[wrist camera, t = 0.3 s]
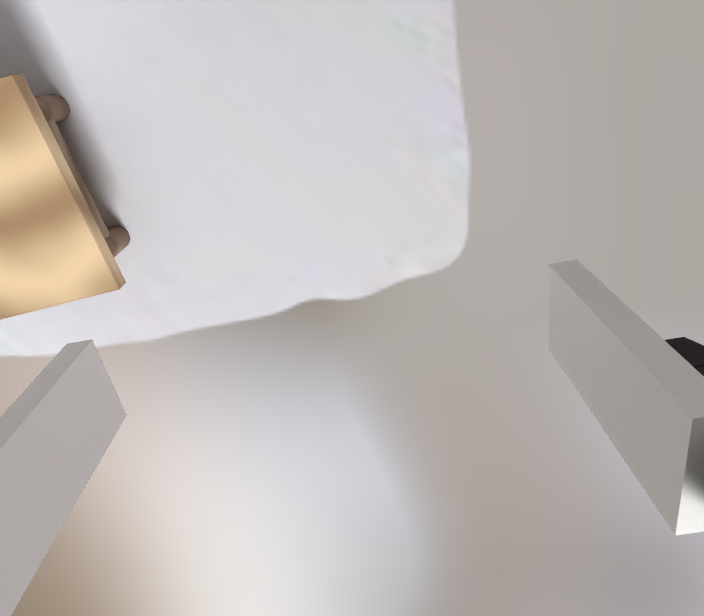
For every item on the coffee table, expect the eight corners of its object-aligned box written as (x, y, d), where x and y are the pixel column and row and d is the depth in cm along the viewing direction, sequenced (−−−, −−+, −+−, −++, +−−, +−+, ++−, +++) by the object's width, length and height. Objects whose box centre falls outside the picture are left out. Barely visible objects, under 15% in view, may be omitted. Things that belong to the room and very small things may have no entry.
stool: (-110, 123, 38) (-199, 138, 32) (68, 70, 37) (11, 74, 30) (-4, 294, 44) (-62, 335, 38) (152, 253, 43) (119, 289, 36)
